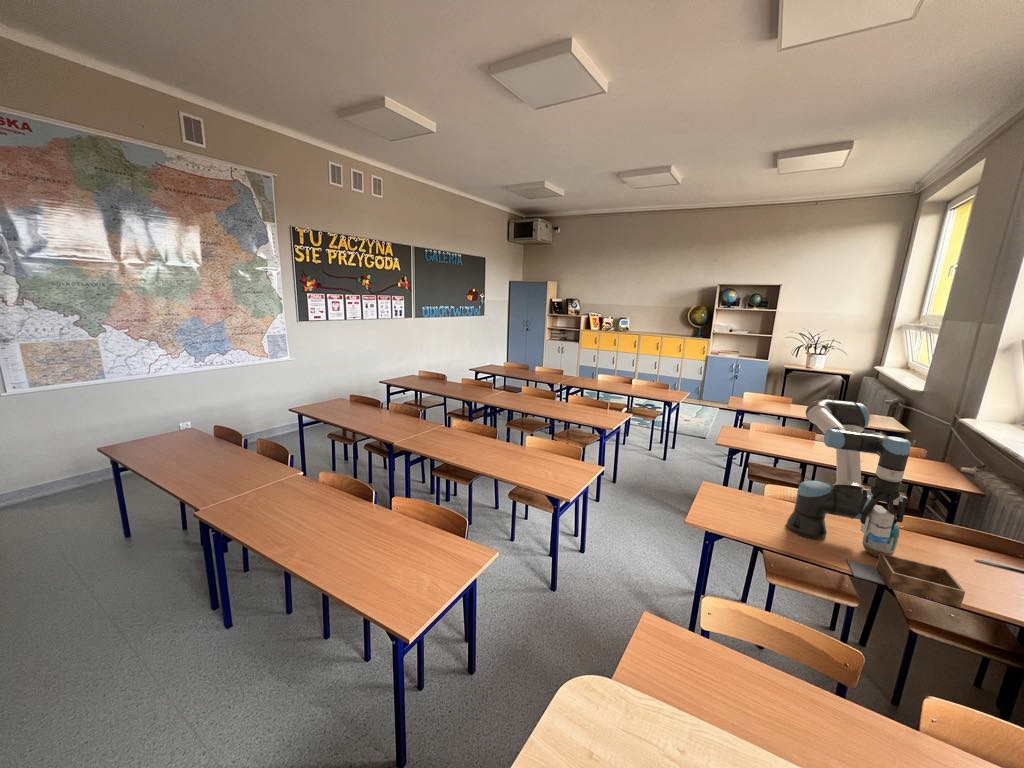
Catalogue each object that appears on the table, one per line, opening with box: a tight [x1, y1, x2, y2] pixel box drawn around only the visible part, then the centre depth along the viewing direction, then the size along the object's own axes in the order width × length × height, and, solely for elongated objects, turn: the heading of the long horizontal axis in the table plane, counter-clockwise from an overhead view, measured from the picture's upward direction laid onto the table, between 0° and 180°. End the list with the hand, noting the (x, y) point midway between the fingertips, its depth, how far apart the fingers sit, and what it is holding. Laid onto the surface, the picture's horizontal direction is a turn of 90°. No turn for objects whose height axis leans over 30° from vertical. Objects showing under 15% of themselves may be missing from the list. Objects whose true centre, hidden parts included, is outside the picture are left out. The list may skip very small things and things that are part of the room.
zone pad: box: [846, 558, 885, 585], centre depth 164 cm, size 9×12×1 cm
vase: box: [862, 523, 900, 558], centre depth 174 cm, size 11×11×19 cm
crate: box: [876, 553, 966, 609], centre depth 156 cm, size 20×15×6 cm
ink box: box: [860, 504, 896, 544], centre depth 160 cm, size 8×5×12 cm, turn 168°
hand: (874, 533), depth 161 cm, fingers closed on ink box, 6 cm apart
